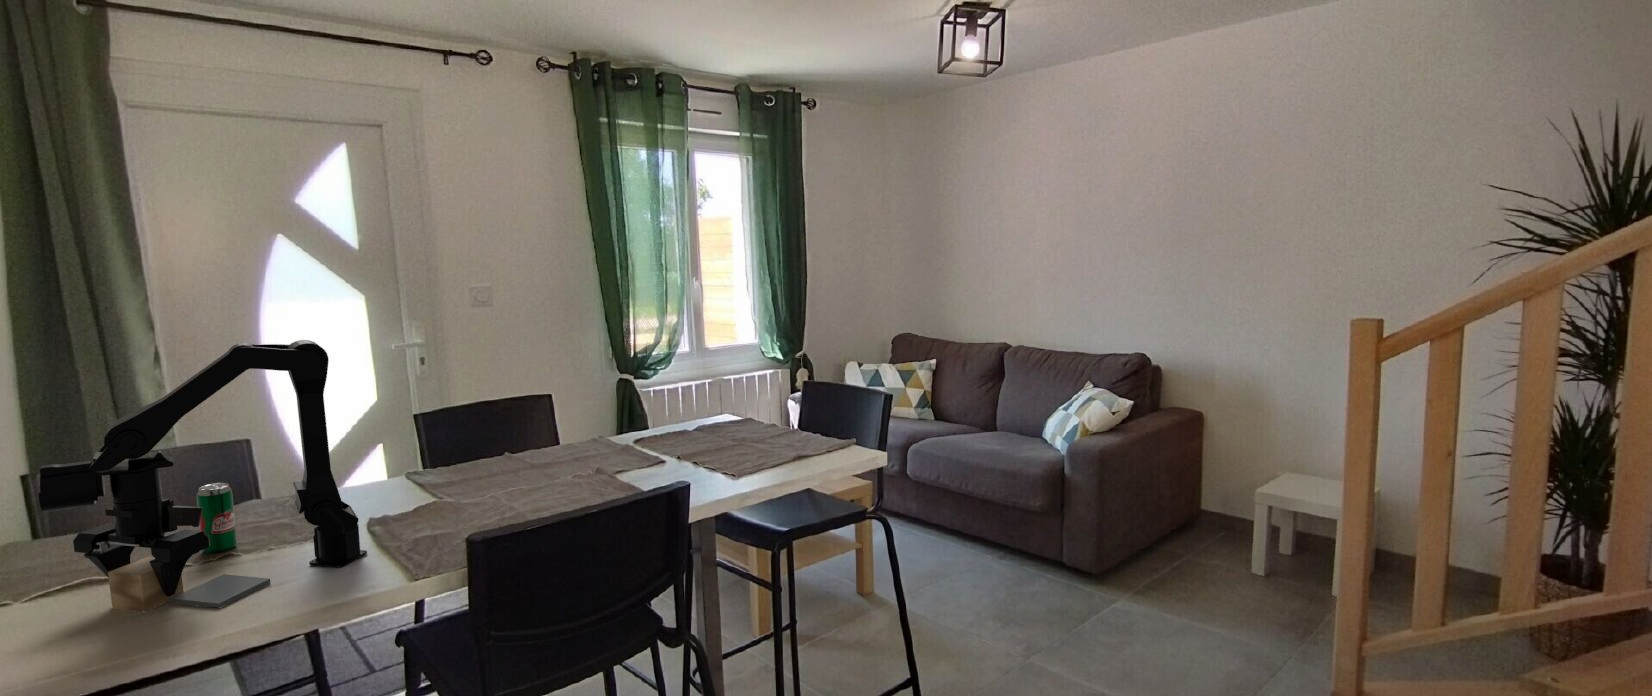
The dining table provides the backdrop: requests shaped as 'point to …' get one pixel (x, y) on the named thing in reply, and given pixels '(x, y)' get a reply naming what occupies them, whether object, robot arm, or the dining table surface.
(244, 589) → the slate coaster
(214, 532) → the soda can
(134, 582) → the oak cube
